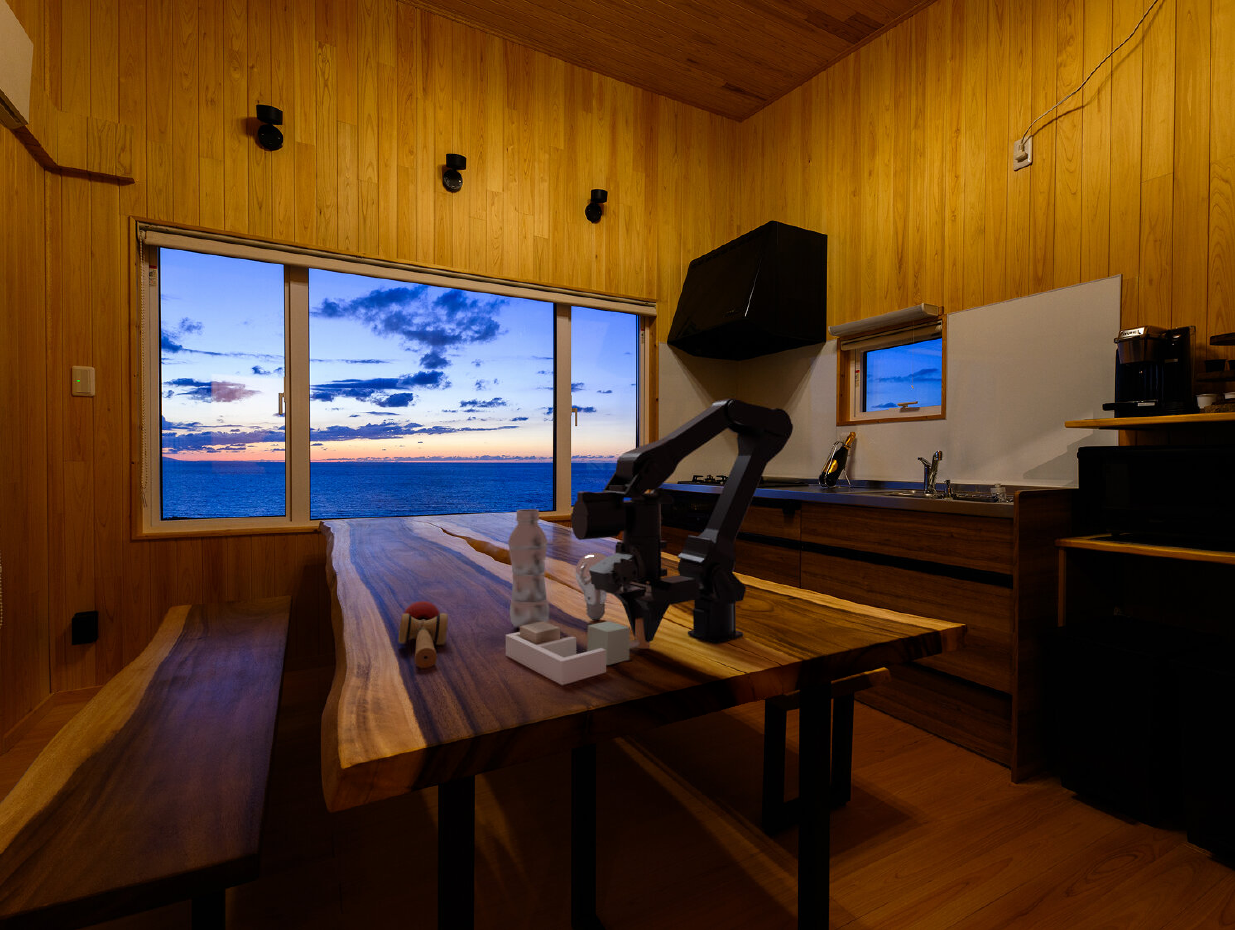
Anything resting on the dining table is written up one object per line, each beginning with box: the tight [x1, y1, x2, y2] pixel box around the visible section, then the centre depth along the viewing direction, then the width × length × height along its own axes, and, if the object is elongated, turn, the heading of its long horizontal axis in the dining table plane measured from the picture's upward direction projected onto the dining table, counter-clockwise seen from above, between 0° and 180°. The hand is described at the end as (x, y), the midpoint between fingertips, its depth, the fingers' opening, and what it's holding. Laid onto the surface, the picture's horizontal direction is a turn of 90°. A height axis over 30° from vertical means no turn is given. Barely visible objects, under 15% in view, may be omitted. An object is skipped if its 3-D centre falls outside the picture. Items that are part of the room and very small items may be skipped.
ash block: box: [519, 621, 561, 645], centre depth 85 cm, size 4×4×4 cm
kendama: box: [398, 600, 449, 669], centre depth 90 cm, size 8×6×18 cm
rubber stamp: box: [586, 618, 651, 666], centre depth 86 cm, size 10×4×4 cm, turn 130°
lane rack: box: [505, 631, 607, 686], centre depth 83 cm, size 7×15×3 cm, turn 38°
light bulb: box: [574, 552, 608, 622], centre depth 104 cm, size 7×7×12 cm
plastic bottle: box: [507, 508, 550, 629], centre depth 101 cm, size 6×7×20 cm
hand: (643, 639), depth 88 cm, fingers closed on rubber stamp, 2 cm apart
